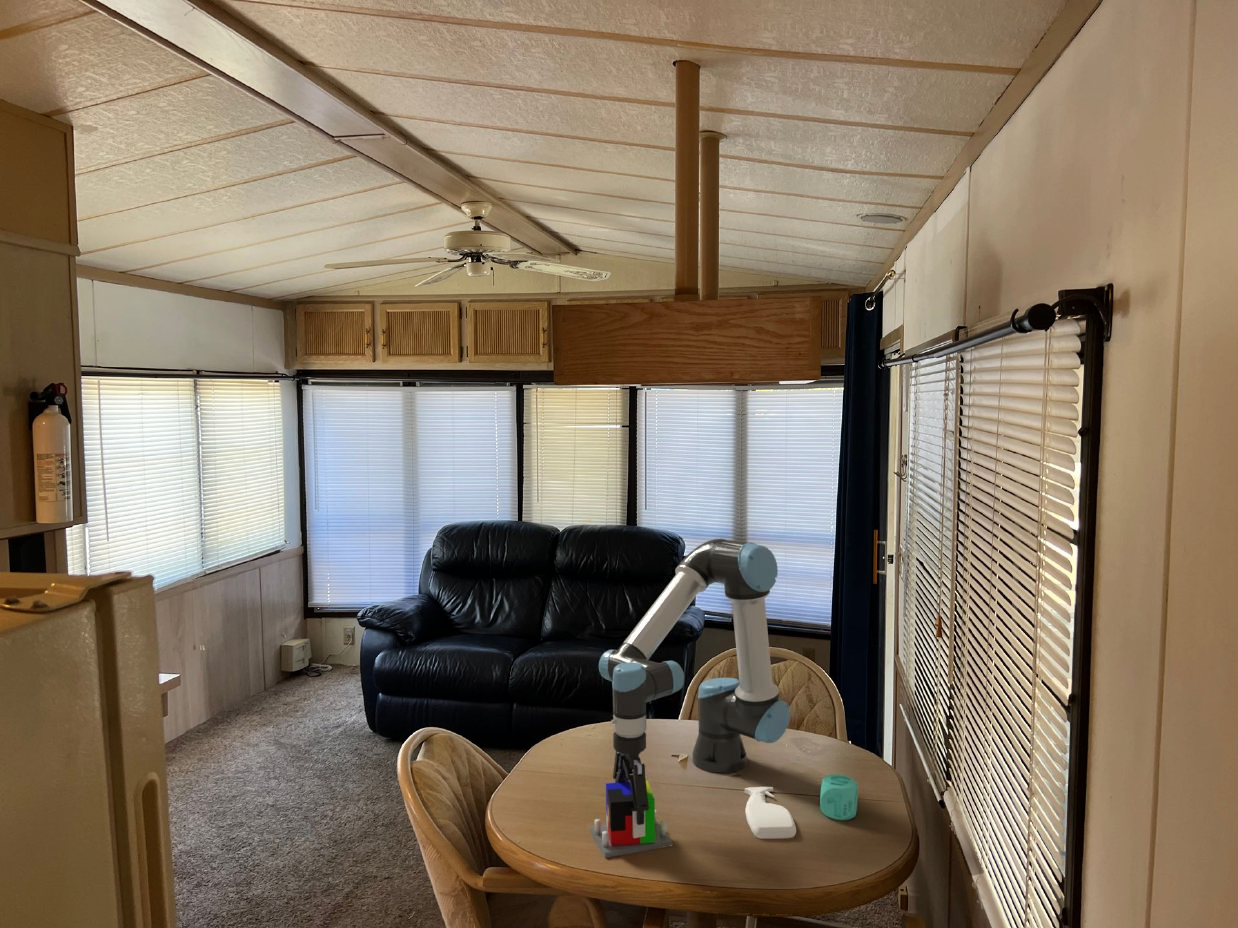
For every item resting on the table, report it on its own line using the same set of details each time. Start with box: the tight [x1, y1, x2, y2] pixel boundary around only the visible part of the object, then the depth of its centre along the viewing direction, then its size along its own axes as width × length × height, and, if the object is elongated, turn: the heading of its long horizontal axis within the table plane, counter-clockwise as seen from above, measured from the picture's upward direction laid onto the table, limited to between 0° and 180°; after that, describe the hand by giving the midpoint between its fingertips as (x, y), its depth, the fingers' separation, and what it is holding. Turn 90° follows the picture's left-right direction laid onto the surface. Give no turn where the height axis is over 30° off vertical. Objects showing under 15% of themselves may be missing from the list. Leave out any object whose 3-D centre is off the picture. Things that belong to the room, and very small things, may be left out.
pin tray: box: [589, 809, 673, 859], centre depth 200 cm, size 16×12×4 cm
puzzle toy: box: [605, 780, 656, 846], centre depth 199 cm, size 10×10×10 cm
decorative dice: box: [819, 773, 859, 821], centre depth 212 cm, size 8×8×8 cm
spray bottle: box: [744, 786, 797, 840], centre depth 212 cm, size 3×11×24 cm
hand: (630, 824), depth 200 cm, fingers open, 11 cm apart
